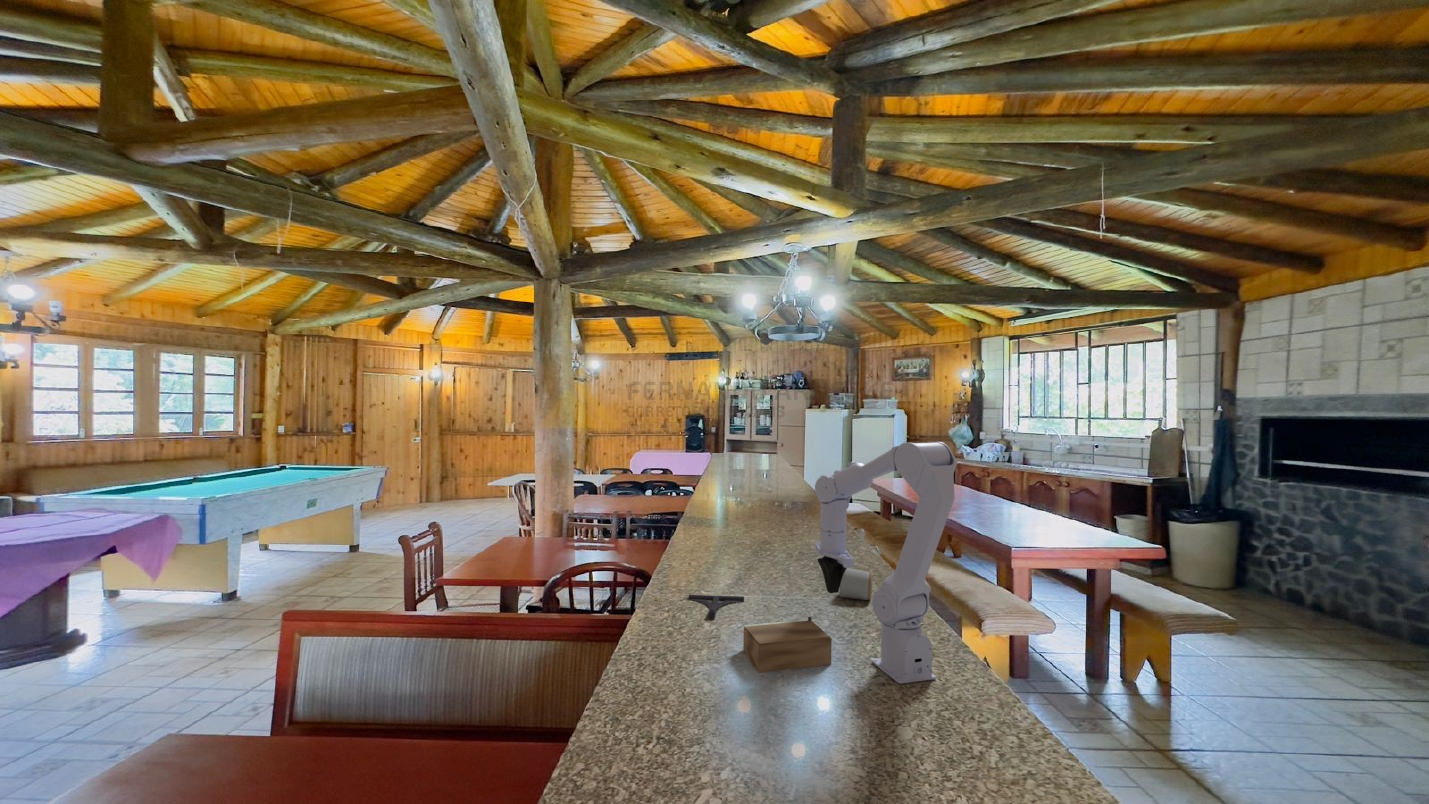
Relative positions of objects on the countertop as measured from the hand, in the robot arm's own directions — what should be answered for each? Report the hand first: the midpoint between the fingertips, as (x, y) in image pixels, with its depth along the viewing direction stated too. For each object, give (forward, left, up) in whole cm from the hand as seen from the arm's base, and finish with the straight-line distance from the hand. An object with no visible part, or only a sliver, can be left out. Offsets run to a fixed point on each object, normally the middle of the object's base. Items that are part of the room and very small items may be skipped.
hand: (832, 591), depth 123 cm
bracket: (+22, +21, -10) cm, 32 cm away
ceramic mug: (+22, -18, -10) cm, 30 cm away
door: (-3, +14, -9) cm, 17 cm away
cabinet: (-8, +14, -9) cm, 19 cm away
